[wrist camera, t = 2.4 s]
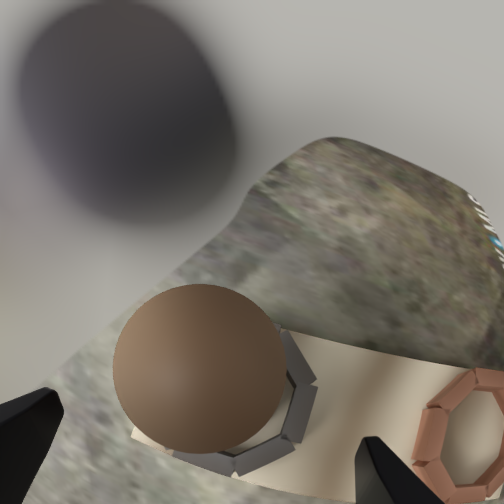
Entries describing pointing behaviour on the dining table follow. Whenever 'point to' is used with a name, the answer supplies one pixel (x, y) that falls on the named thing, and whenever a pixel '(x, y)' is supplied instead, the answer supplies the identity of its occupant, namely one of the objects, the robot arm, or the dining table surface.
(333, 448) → the socket rail
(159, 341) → the walnut peg
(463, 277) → the dining table surface
